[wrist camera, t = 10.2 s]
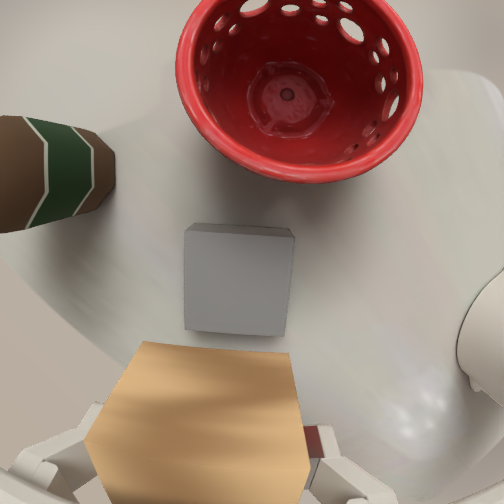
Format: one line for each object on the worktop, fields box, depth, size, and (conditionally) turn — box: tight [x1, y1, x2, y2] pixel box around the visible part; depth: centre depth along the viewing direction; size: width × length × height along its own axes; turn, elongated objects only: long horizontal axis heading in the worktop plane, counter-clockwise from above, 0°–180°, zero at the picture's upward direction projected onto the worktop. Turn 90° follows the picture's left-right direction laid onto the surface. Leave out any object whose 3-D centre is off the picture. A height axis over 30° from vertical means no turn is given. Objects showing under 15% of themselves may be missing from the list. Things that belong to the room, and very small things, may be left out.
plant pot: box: [175, 0, 423, 184], centre depth 18 cm, size 13×13×12 cm
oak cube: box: [83, 341, 311, 504], centre depth 8 cm, size 5×5×5 cm
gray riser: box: [184, 223, 295, 337], centre depth 26 cm, size 8×8×4 cm
